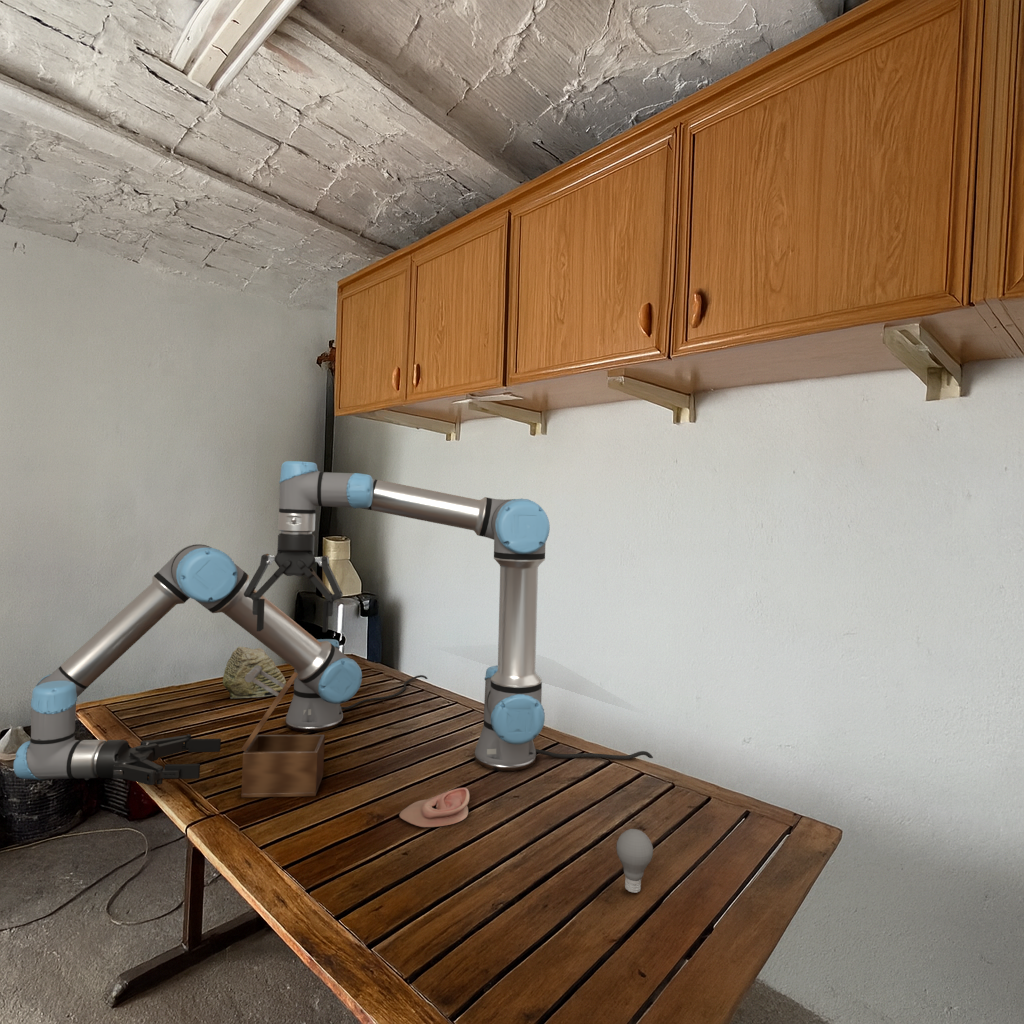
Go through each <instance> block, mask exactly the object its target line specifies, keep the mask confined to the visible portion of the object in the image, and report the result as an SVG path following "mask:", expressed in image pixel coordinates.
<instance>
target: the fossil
mask: <svg viewBox="0 0 1024 1024" xmlns="http://www.w3.org/2000/svg"><path fill="white" fill-rule="evenodd" d="M256 665H259V666H261V667H262V671H264V672H266V673H267V674H269V675H270V676H272V677H274V678H275V679H277V680H279V681H280V682H282V683H284V684H286V683H287V680H286V678H285V676H284V674H283V673H282V672H281V669H279V668H278V667H277V665H276V663H275V662H274V660H273V659H272V658H271V657H270V656H269V655H268V654H267V653H266V652H265V650H264V649H263V648H260V647H258V648H251V647H247V646H246V647H245V646H238V647H237V648H236V649H235V650H233V651H232V653H231V656H230V657H229V659H228V660H227V663H226V666H225V668H224V671H223V675H222V676H223V677H222V685H223V687H224V688H225V690H226V691H228V693H229V698H230V699H250V698H264V697H271V696H274V695H273V694H272V693H270V692H268V691H267V690H265V689H264V688H262V687H260V686H259V685H257V684H255V683H254V682H246V681H245V676H246V675H247V674H248V673H249V672H250V671H251V670H252V669H253V668H254V667H255V666H256ZM255 679H257V680H259V681H260V682H262V683H264V684H265V685H267V686H269V687H270V688H272V689H274V690H275V691H277V692H279V693H280V692H281V690H282V689H283V688H282V687H281V686H279V685H277V684H276V683H274V682H272V681H271V680H269V679H267V678H266V677H264V676H262V675H261V674H259V675H258V676H257V677H256V678H255Z"/></svg>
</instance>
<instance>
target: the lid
mask: <svg viewBox="0 0 1024 1024" xmlns="http://www.w3.org/2000/svg"><path fill="white" fill-rule="evenodd" d="M259 674H261V675H262V676H264V677H266V678H267V679H269V680H271V681H272V682H274V683H276V684H277V685H279V686H281V687H282V688H283V689H282V690H281V692H280V693H279V692H277V691H275V690H274V689H272V688H270V687H269V686H267V685H265V684H264V683H262V682H260V681H259V680H257V679H255V678H256V677H257V676H258V675H259ZM297 676H298V674H297V673H296V672H293V673H292V675H291V676H290V678H289V679H288V680H287V681H286V684H284V683H282V682H280V681H279V680H277V679H275V678H274V677H272V676H270V675H269V674H267V673H266V672H264V671H262V667H261V666H259V665H256V666H255V667H254V668H253V669H252V670H251V671H250V672H249V673H248V674H247V675H246V676H245V681H246V682H254V683H255V684H257V685H259V686H260V687H262V688H264V689H265V690H267V691H268V692H270V693H272V694H273V695H272V696H275V697H276V698H275V699H274V700H273V702H271V705H270V706H269V707H268V709H267V711H266V712H265V713H264V715H263V716H262V718H261V719H260V721H259V722H258V724H257V725H256V726H255V728H254V729H253V731H251V732H252V733H250V735H249V737H248V738H247V740H246V741H245V743H244V744H243V746H242V747H241V748H240V750H242V751H243V752H244V751H246V750H247V748H248V747H249V745H250V744H251V743H252V741H253V740H254V738H255V737H256V736H257V735H259V733H260V731H261V730H262V729H263V727H264V725H265V724H266V722H267V721H268V720H269V718H270V717H271V715H272V713H273V712H274V711H275V709H276V708H277V707H278V706H279V703H280V702H281V701H282V700H283V698H284V696H285V695H286V693H287V692H288V690H289V689H290V687H291V686H292V685H293V684H294V680H295V679H296V677H297Z"/></svg>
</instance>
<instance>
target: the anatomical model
mask: <svg viewBox="0 0 1024 1024" xmlns="http://www.w3.org/2000/svg"><path fill="white" fill-rule="evenodd" d="M470 797H471V796H470V791H469V789H468V788H467V787H458V788H453V789H451V790H447V791H445V792H442V793H440V794H437V795H436V796H433V797H430V798H428V799H421V800H417V801H415V802H413V803H411V804H409V805H407V807H405V808H404V809H402V810H401V811H400V812H399V814H398V816H399V818H400V819H402V820H403V821H404V822H407V823H408V824H410V825H414V826H416V827H420V828H437V827H446V826H450V825H454V824H457V823H460V822H462V821H463V820H465V819H466V818H467V817H468V816H469V807H468V805H469V802H470Z"/></svg>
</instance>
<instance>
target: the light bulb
mask: <svg viewBox="0 0 1024 1024" xmlns="http://www.w3.org/2000/svg"><path fill="white" fill-rule="evenodd" d="M615 849H616V854H617V857H618V859H619V861H620V863H621V865H622V867H623V873H624V874H623V875H624V876H625V878H624V888H625V890H627V891H628V892H630V893H634V894H635V893H639V892H640V891H641V889H642V887H641V886H642V879H643V877H644V875H645V871H646V868H647V867H648V866H649V864H650V863H651V861H652V859H653V855H654V847H653V843H652V841H651V838H649V836H648V835H647V834H646V833H645V832H643V831H642V830H641V829H636V828H629V829H627V830H625V831H623V832H622V833H621V834H620V835H619V837H618V839H617V841H616V847H615Z"/></svg>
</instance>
